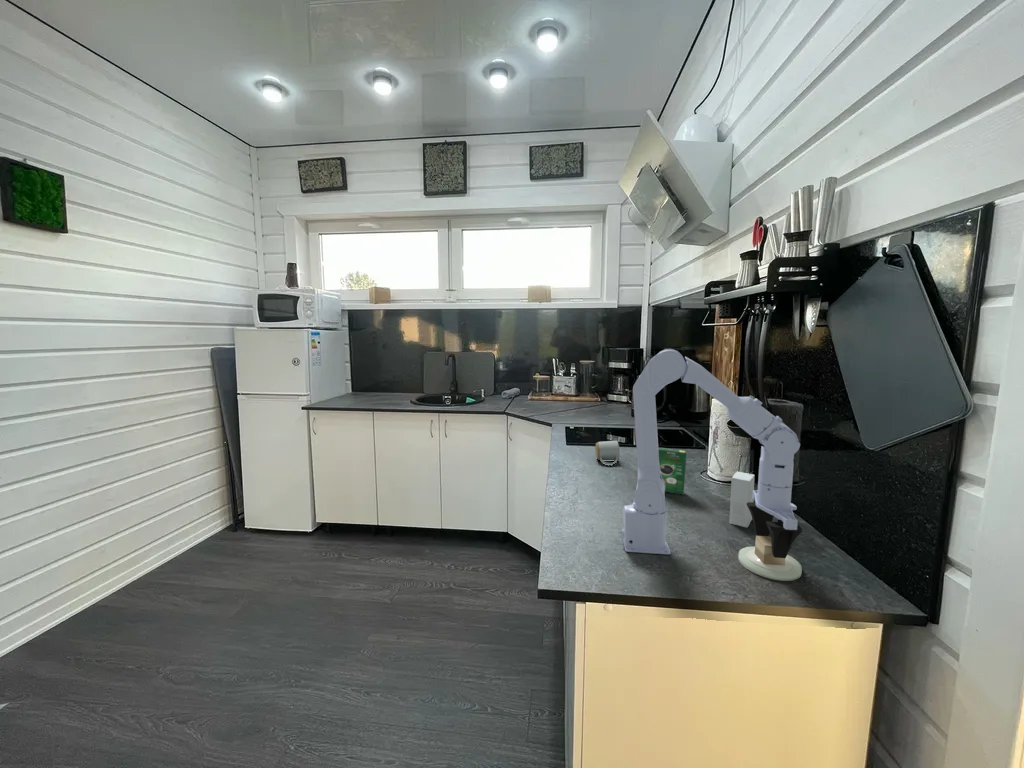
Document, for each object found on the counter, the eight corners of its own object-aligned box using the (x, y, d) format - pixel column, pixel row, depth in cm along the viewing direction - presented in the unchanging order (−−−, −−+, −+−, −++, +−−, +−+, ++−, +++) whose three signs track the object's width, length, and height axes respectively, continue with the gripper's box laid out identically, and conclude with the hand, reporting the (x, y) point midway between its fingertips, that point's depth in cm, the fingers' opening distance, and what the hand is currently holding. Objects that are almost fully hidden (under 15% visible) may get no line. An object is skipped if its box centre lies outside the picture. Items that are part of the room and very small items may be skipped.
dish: (751, 578, 80) (751, 572, 80) (730, 549, 91) (730, 544, 91) (813, 583, 78) (814, 577, 78) (784, 552, 89) (784, 547, 89)
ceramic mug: (594, 457, 158) (594, 438, 157) (616, 457, 157) (616, 438, 156) (598, 467, 147) (599, 446, 146) (621, 467, 147) (622, 446, 146)
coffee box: (685, 492, 123) (687, 449, 121) (684, 495, 120) (686, 452, 119) (656, 488, 126) (658, 446, 125) (655, 491, 124) (657, 449, 122)
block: (763, 564, 83) (764, 545, 82) (754, 553, 87) (755, 535, 86) (784, 565, 82) (786, 546, 82) (775, 554, 86) (776, 536, 86)
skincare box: (733, 515, 107) (736, 470, 106) (752, 519, 105) (755, 474, 103) (728, 523, 103) (731, 477, 101) (747, 528, 100) (750, 481, 99)
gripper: (817, 498, 75) (811, 568, 76) (778, 471, 89) (774, 531, 91) (775, 496, 76) (770, 565, 77) (743, 470, 90) (740, 529, 92)
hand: (770, 546), depth 84 cm, fingers open, 7 cm apart
